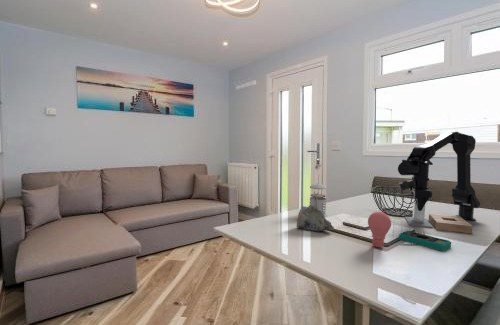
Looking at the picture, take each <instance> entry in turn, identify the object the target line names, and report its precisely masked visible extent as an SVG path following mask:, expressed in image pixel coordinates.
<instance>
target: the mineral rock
mask: <svg viewBox="0 0 500 325" xmlns="http://www.w3.org/2000/svg"><path fill="white" fill-rule="evenodd" d="M326 218H327V217H325V216H324V214H323V213H322V212H321V211H320V210H318V209H317V208H315V207H314V206H313V205H312V206H310V205H308V206H304V205H303V206H301V208H300V210H299V211H298V215H297V219H296V228H298V229H302V230H307V231H309V230H310V231H316V232H319V231H324V232H325V231H328V230H331V231H333V230H334V229H335V228H334V226H333V225H332V222H331V221H330V220H328V219H326Z"/></svg>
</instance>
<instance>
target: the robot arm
mask: <svg viewBox="0 0 500 325" xmlns="http://www.w3.org/2000/svg"><path fill="white" fill-rule="evenodd" d="M476 143H477V140H476V138H475V137H474V136H473V135H468V134H465V133H461V132H459V131H456V130H451V131H450V130H449V131H448V130H447V131H445V132H443V134H440V135H439V136H438V137H436V138H434V139H432V140H430V142H428V143H425V144H420V145H417V146H414V147H413V148H412V151H411V152H410V154H409V155H408V157H407V158H406V159H402V160H401V162H400V163H399V164H398V166H397V172H398V174H400V176H412V177H411V179H409V180H408V179H407V180H403V181H399V182H398V183H397V184H398V186H399V190H400V191H406V190H409V192H410V194H411V195H413V198H414V203H417V205H418V211H422V209H423V207H424V206H425V207H426V204H427V202H429V201H428V200H429V199H431V198H433V192H432V191H431V190H430V188H429V181H430V178H429V173H430V170H429V168H430V166H433V165H434V163H433V162H432V161H431V159H433V157H435V155H436V152H438V151H439V150H440V149H442V148H444V147H446V146H447V145H449V144H450V145H452V150H453V151H454V153H455V154H456V168H457V169H456V172H457V173H456V174H457V175H456V176H457V178H456V180H457V181H456V186H455V187H453V188H452V189H451V192H452V193H451V197H452V200H453V204H454V205H458V211H457V212H458V213H457V214H456V215H455V216H460V217H462V218H463V219H464V220H465V221H477V219H476V218H474V212H475V210H474V209H478V208H480V206H481V202H480V201H479V199H478V198H477V196H476V190H475V189H474V187H473V186H472V183H471V182H472V181H471V176H472V174H471V154H472V153H473V151H474V150H475V148H476Z"/></svg>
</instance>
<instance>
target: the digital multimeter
mask: <svg viewBox="0 0 500 325" xmlns="http://www.w3.org/2000/svg"><path fill="white" fill-rule="evenodd" d="M399 237H400V239H399V240H401V241H403V242H408V243H411V244H414V245H418V246H422V247H425V248H428V249H432V250H435V251H439V252H444V251H445V252H446V251H447V250H449V249H450V248H452V241H451V240H448V239H444V238H439V237H436V236H431V235H428V234H427V235H426V234H423V233H421V232H416V231H412V230H405V231H402V232H400V233H399V235H398V238H399Z"/></svg>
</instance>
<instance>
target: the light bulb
mask: <svg viewBox="0 0 500 325" xmlns="http://www.w3.org/2000/svg"><path fill="white" fill-rule="evenodd" d="M367 225H368V228H369V230H370V232H371V234H372V235H371V237H372V240H371V244H372V246H374V247H376V248H383V247H384V244H385V239H386V235H387V234H388V233H389V231H390V229H391V227H392V220H391V218H390V216H389V215H388V214H386V213H385V212H382V211H375V212H372V213H371V214H370V215H369V216H368V218H367Z"/></svg>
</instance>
